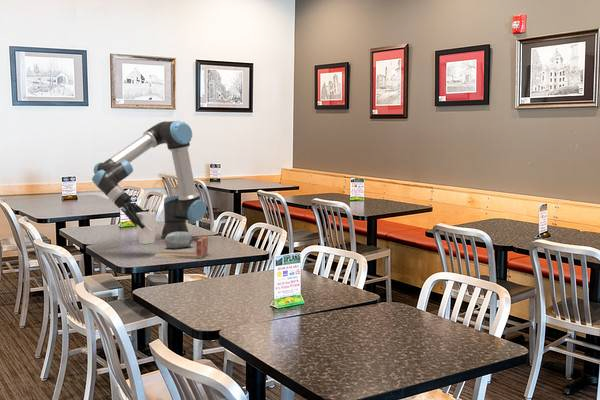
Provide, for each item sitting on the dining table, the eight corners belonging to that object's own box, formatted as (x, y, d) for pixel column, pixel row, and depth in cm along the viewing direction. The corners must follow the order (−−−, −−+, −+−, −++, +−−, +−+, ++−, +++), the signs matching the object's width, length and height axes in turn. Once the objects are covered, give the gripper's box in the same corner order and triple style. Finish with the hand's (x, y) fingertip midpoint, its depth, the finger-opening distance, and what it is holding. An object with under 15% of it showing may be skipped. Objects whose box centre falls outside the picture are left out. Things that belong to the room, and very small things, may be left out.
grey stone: (190, 238, 339) (187, 223, 333) (195, 249, 332) (192, 234, 326) (164, 246, 335) (161, 231, 329) (169, 257, 328) (166, 242, 322)
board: (163, 252, 317) (163, 235, 316) (207, 253, 314) (207, 236, 313) (155, 257, 305) (154, 239, 304) (200, 258, 302) (200, 241, 301)
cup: (157, 243, 311) (156, 212, 310) (144, 245, 306) (143, 214, 304) (148, 241, 316) (147, 211, 314) (135, 244, 311) (134, 213, 309)
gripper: (123, 200, 321) (155, 232, 321) (104, 205, 300) (139, 240, 300) (133, 189, 320) (165, 221, 320) (115, 194, 299) (150, 229, 299)
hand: (152, 230), depth 310 cm, fingers closed on cup, 9 cm apart
